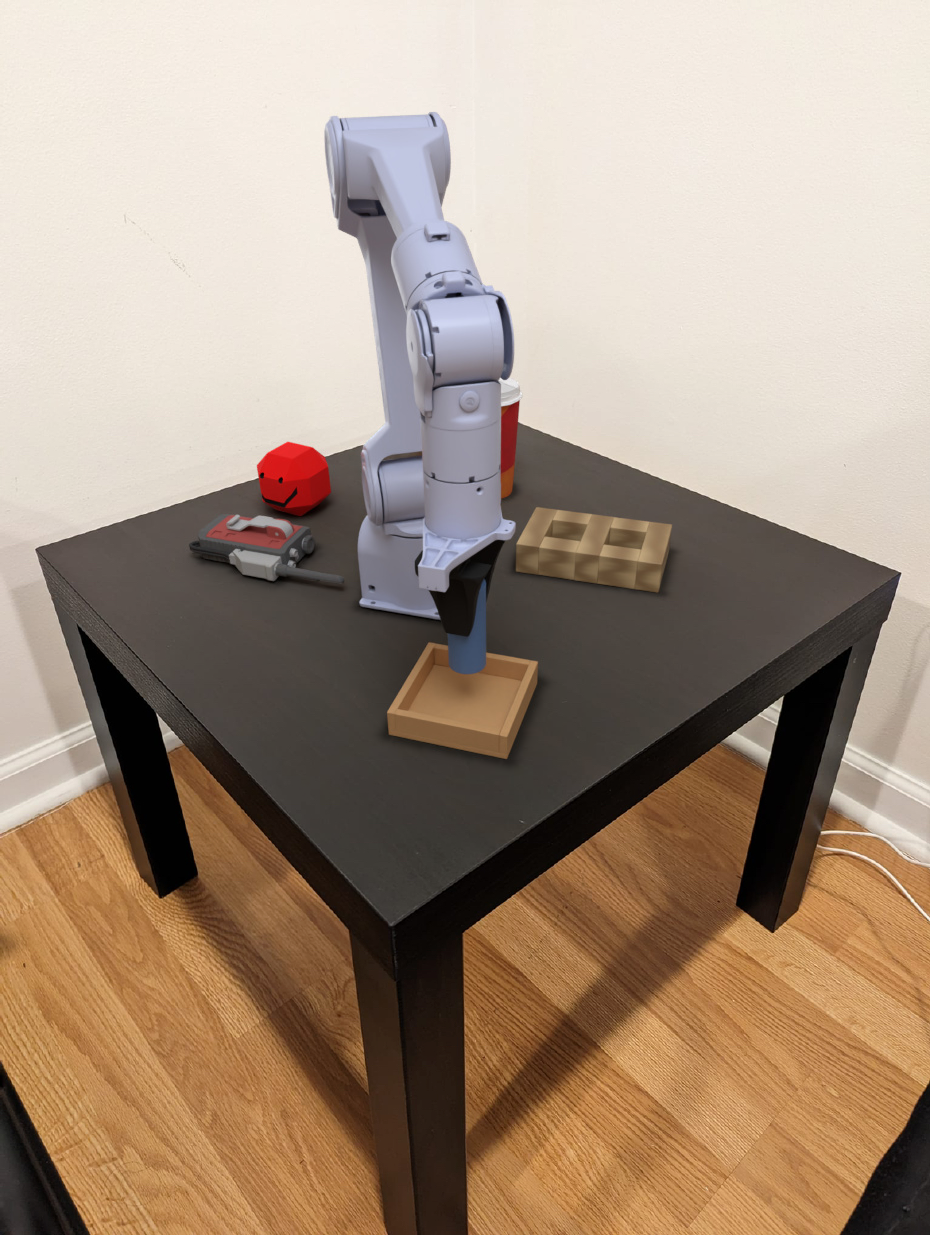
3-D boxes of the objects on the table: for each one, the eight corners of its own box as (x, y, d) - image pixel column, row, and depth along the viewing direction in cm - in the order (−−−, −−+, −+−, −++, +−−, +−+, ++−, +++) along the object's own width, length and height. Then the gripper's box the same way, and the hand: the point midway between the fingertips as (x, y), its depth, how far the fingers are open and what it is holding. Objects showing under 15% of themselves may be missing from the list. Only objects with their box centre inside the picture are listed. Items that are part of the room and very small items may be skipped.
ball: (252, 513, 108) (242, 455, 104) (293, 487, 114) (285, 432, 109) (303, 527, 104) (295, 468, 100) (342, 500, 110) (336, 444, 106)
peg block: (515, 571, 95) (516, 543, 93) (535, 533, 102) (536, 506, 100) (658, 593, 91) (662, 564, 89) (668, 551, 98) (672, 524, 96)
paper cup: (453, 482, 114) (450, 377, 106) (508, 474, 116) (510, 370, 108) (471, 508, 108) (470, 399, 100) (529, 499, 110) (532, 391, 102)
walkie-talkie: (179, 567, 97) (340, 597, 92) (171, 532, 95) (336, 561, 89) (222, 531, 104) (374, 557, 98) (215, 497, 102) (371, 522, 96)
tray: (388, 734, 74) (386, 712, 72) (429, 663, 82) (428, 641, 80) (506, 759, 71) (507, 736, 70) (537, 683, 79) (538, 661, 78)
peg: (443, 670, 73) (440, 590, 68) (455, 649, 75) (453, 570, 71) (480, 677, 72) (479, 596, 68) (490, 655, 75) (490, 575, 70)
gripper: (485, 518, 57) (486, 681, 65) (538, 435, 68) (533, 582, 76) (385, 505, 59) (398, 665, 66) (453, 426, 70) (457, 570, 78)
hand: (464, 620), depth 71 cm, fingers closed on peg, 3 cm apart
